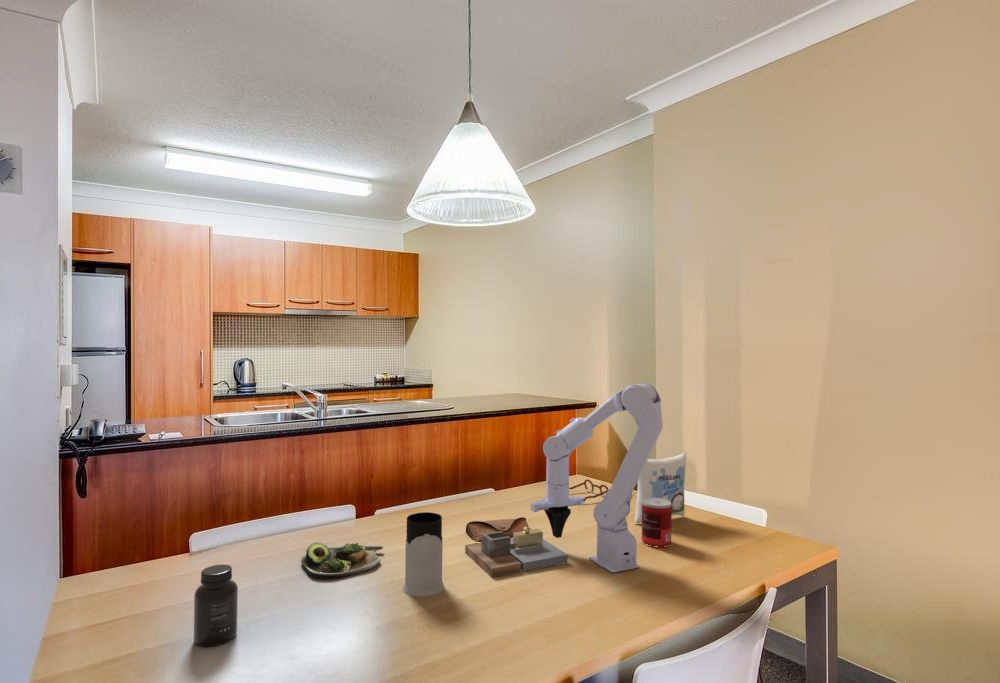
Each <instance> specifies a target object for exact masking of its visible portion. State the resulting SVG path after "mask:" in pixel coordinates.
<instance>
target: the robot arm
mask: <svg viewBox="0 0 1000 683" xmlns="http://www.w3.org/2000/svg"><path fill="white" fill-rule="evenodd" d="M661 403H662V398H661V396H660V394H659V393H658V391H657V389H656V387H655V386H654V385H652V384H651V383H649V382H640V383H638V384H629V385H627V386H626V387H624V389H622V390H619V391H617V392H616V393H614V394H613V395H611V396H610V397H609V398H608V399H607V400H605V401H604V402H603V403H601V405H599V406H598V407H597V408H596V409H594V410H593V411H592V412H591V413H590V414H589V415H587V416H586V417H581V416H580V417H572V418H571V419H569V421H568V422H569V423H568V424H567V425H566V426H565V427H563V428H562V429H558V430H557V431H555V433H556V434H555V436H548V437H547V438H546V440H545V441H544V442H543V446H542V451H543V454H544V456H545V457H546V472H545V473H546V477H545V479H546V480H545V481H546V484H545V487H546V489H545V490H546V495H545V496H546V497H545V498H544V499H539V500H536V501H532V502H530V511H531V512H533V513H537V512H539V511H544V512H545V514H546V517H547V519H548V521H549V524H550V528H551V533H552V536H553V537H555V538H557V539H560V538H562V537H563V536H562V535H563V532H564V528H565V525H566V523H567V521H568V518H569V517H570V515H571V513H572V512H571V510H572V509H570V508H569V507H575V506H581V507H582V506H584V503H583V499H584V497H582V496H579V495H577V496H570V489H569V487H570V455H571V454H572V453H573V452H574V450H575V449H577V448H578V447H579V446H581V445H582V444H583V443H585V442H586V441H587V440H589V439H590V438H592V437H593V434H594V429H595V428H596V427H597V426H599V425H601V424H602V423H603V422H605V421H606V420H608V419H610V417H612V416H613V415H615V414H617V412H624V411H627V412H628V413H629V414H630V415H631V416H632V418H633V419H634V421H635V423H636V425H637V428H638V429H637V431H636V433H635V435H634V437H633V439H632V441H631V443H630V446H629V448H628V449H627V452H626V454H625V455H624V456H625V457H624V458H623V461H622V462H621V464H620V467H619V469H618V472H617V474H616V475H615V478H614V480H613V482H612V484H611V486H610V487H609V488H608V489H609V490H608V492H607V493H605V494H604V497H603V498H602V500H601V501H600V502H598V503H597V504H596V505H595V506H594V509H593V512H592V514H593V518H594V521H595V523H596V555H592V556H589V557H588V558H589V560H591V562H594V563H595V564H597V565H599V566H600V567H602V568H603V569H605V570H607V571H608V572H610V573H612V574H613V573H614V574H615V573H619V572H624V571H628V570H633V568H634V569H638V568H640V565H639V564H638V563H637V539H636V537H635V536H634V535H633V534H632V533H631V532H630V530H629V528H628V521H627V517H628V516H629V514H630V513H631V501H632V498H633V496H634V495H633V492H634V490H635V488H636V486H637V484H638V482H637V481H638V479H639V477H640V475H641V473H642V471H643V469H644V467H645V464H646V462H647V460H648V459H650V456H651V454H652V451H653V449H654V447H655V445H656V443H657V441H658V439H659V437H660V436H661V435H660V434H661V433H662V430H663V427H664V424H663V415H662V408H661V406H662V404H661Z"/></svg>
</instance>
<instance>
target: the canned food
mask: <svg viewBox="0 0 1000 683" xmlns="http://www.w3.org/2000/svg"><path fill="white" fill-rule="evenodd" d="M672 516H673V515H672V505H671V502H670V501H668V500H666V499H661V498H646V499H643V500H642V522H641V541H643V542H644V543H645V544H648V545H651V546H658V547H664V546H668V545H670V546H671V544H672V523H673V522H672V520H673V519H672V518H673V517H672ZM643 542H642V543H643ZM644 543H643V544H644ZM645 544H644V545H645ZM668 547H669V546H668Z"/></svg>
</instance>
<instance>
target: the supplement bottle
mask: <svg viewBox="0 0 1000 683" xmlns="http://www.w3.org/2000/svg"><path fill="white" fill-rule="evenodd" d="M232 569H233V567H232V566H231V565H229V564H224V563H223V564H214V565H210V566H208V567H205V568H204V569H202V570H201V573H200V585H199V586H198V587H197V588H196V589H195V591H194V595H193V596H194V597H193V599H194V600H193V642H194V643H195V645H197V646H199V647H201V648H211V647H213V648H214V647H218V646H221V645H224V644H226V643H228V642H230V641H231V640H232V639H233V638H235V637H236V635H237V631H238V608H239V607H238V606H239V605H238V604H239V603H238V600H239V599H238V598H239V597H238V594H239V593H238V592H239V590H238V589H239V588H238V584H237V583H236V581H234V580H232V578H233V574H232V572H233V571H232Z"/></svg>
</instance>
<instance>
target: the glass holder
mask: <svg viewBox="0 0 1000 683" xmlns="http://www.w3.org/2000/svg"><path fill="white" fill-rule="evenodd" d="M442 527H443V516H442V515H441V514H438V513H435V512H424V511H423V512H416V513H412V514H410V515H408V516H407V517H406V539H405V557H404V558H405V559H404V560H405V564H404V566H405V571H404V573H405V574H404V575H405V577H404V578H405V580H404V584H403V587H402V591H403V592H404V593H405V594H406V595H408V596H410V597H417V598H427V597H432V596H435V595H438V594H440V593H442V591H444V589H445V585H444V582H443V535H442V533H443V532H442V531H443V528H442Z"/></svg>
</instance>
